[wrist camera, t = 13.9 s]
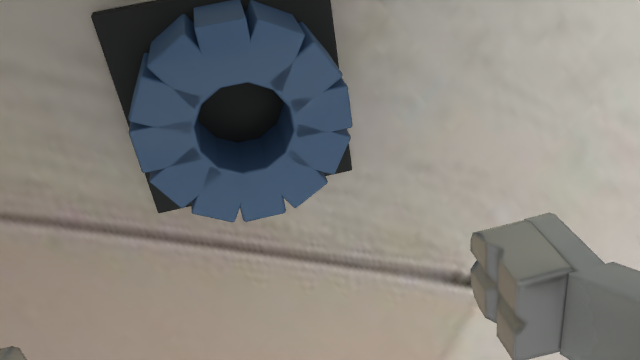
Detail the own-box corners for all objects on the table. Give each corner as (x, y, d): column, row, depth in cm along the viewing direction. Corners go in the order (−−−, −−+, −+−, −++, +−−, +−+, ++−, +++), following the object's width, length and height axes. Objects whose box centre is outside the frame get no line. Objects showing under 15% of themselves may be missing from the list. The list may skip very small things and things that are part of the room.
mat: (158, 207, 21) (158, 213, 21) (92, 12, 17) (90, 15, 17) (349, 165, 22) (352, 170, 21) (324, -32, 18) (326, -29, 18)
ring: (167, 204, 21) (165, 241, 19) (107, 23, 17) (98, 46, 15) (346, 164, 21) (361, 196, 19) (321, -18, 18) (337, -1, 16)
